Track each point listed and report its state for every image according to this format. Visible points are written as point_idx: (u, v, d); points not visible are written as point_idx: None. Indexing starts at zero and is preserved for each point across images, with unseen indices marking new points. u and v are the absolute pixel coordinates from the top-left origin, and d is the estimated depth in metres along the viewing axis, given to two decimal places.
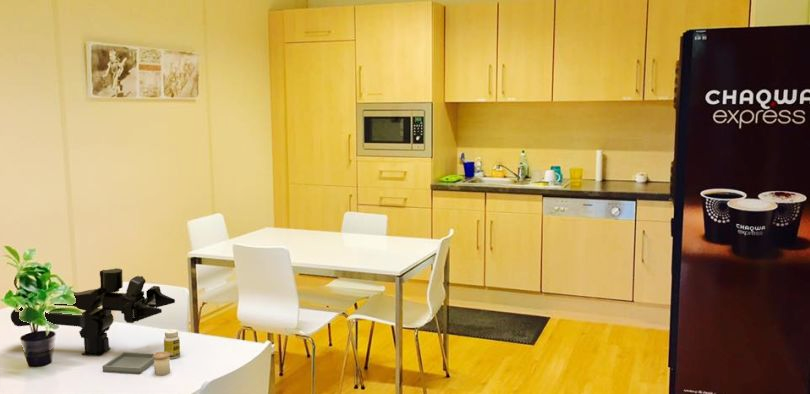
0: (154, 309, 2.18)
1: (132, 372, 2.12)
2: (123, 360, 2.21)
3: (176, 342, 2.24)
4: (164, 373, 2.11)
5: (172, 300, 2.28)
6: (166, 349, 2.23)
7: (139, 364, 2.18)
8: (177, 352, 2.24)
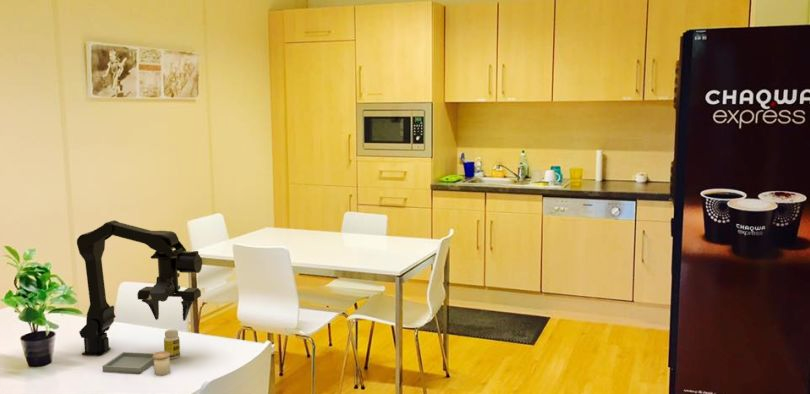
0: None
1: (132, 372, 2.12)
2: (123, 360, 2.21)
3: (176, 342, 2.24)
4: (164, 373, 2.11)
5: None
6: (166, 349, 2.23)
7: (139, 364, 2.18)
8: (177, 352, 2.24)
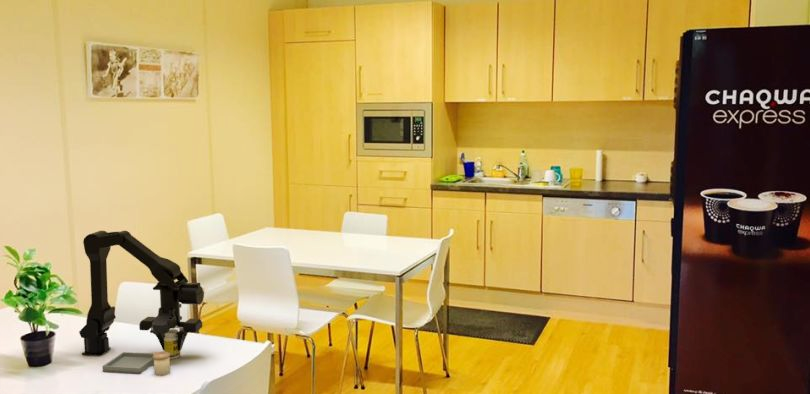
0: None
1: (132, 372, 2.12)
2: (123, 360, 2.21)
3: (176, 342, 2.24)
4: (164, 373, 2.11)
5: None
6: (166, 349, 2.23)
7: (139, 364, 2.18)
8: (177, 352, 2.24)
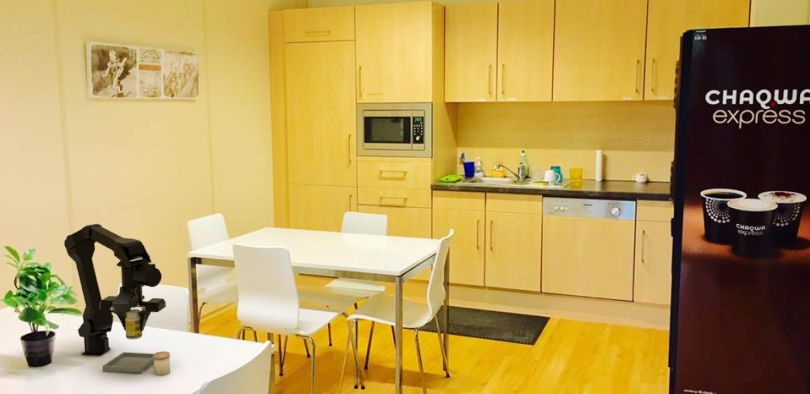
0: None
1: (132, 372, 2.12)
2: (123, 360, 2.21)
3: (138, 322, 2.16)
4: (164, 373, 2.11)
5: None
6: (127, 329, 2.15)
7: (139, 364, 2.18)
8: (139, 333, 2.16)
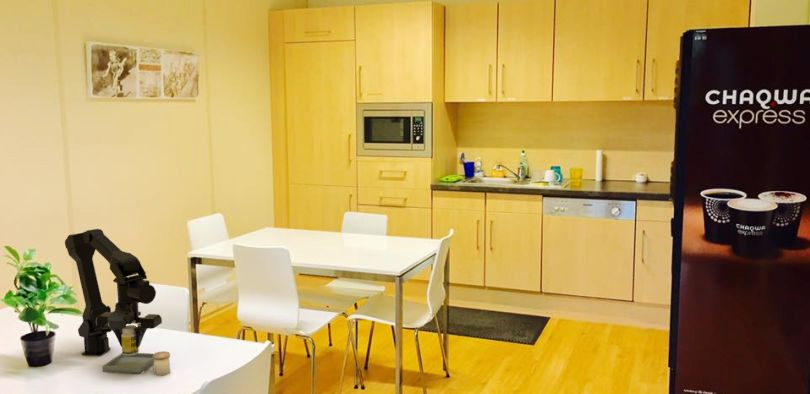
0: None
1: (132, 372, 2.12)
2: (123, 360, 2.21)
3: (134, 338, 2.15)
4: (164, 373, 2.11)
5: None
6: (123, 346, 2.15)
7: (139, 364, 2.18)
8: (135, 349, 2.16)
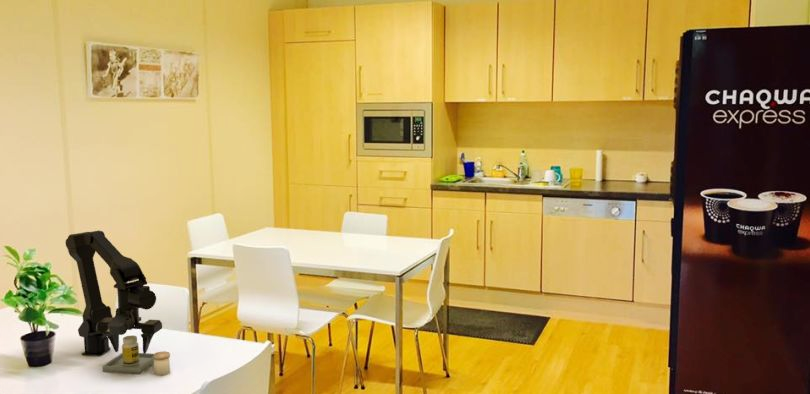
0: None
1: (132, 372, 2.12)
2: None
3: (135, 349, 2.16)
4: (164, 373, 2.11)
5: None
6: (124, 356, 2.15)
7: (139, 364, 2.18)
8: (136, 359, 2.17)
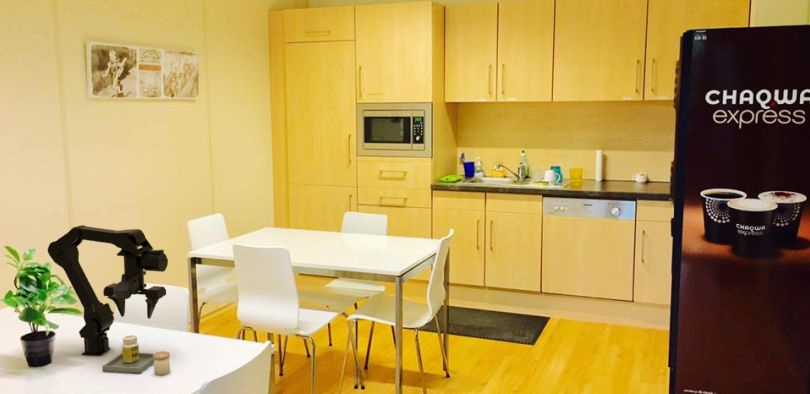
0: None
1: (132, 372, 2.12)
2: None
3: (135, 349, 2.16)
4: (164, 373, 2.11)
5: None
6: (124, 356, 2.15)
7: (139, 364, 2.18)
8: (136, 359, 2.17)
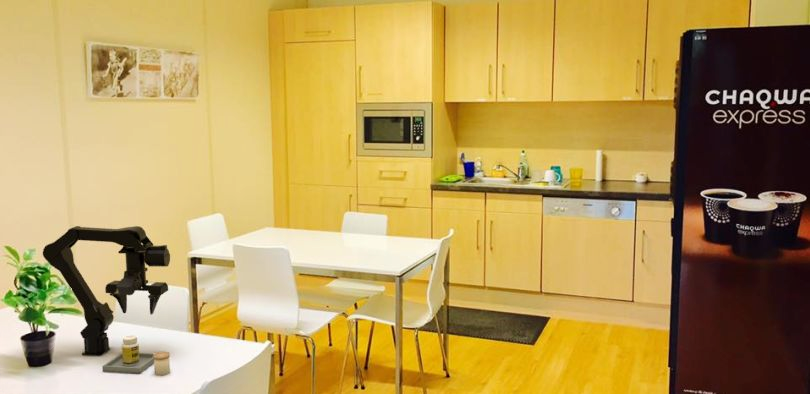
0: None
1: (132, 372, 2.12)
2: None
3: (135, 349, 2.16)
4: (164, 373, 2.11)
5: None
6: (124, 356, 2.15)
7: (139, 364, 2.18)
8: (136, 359, 2.17)
